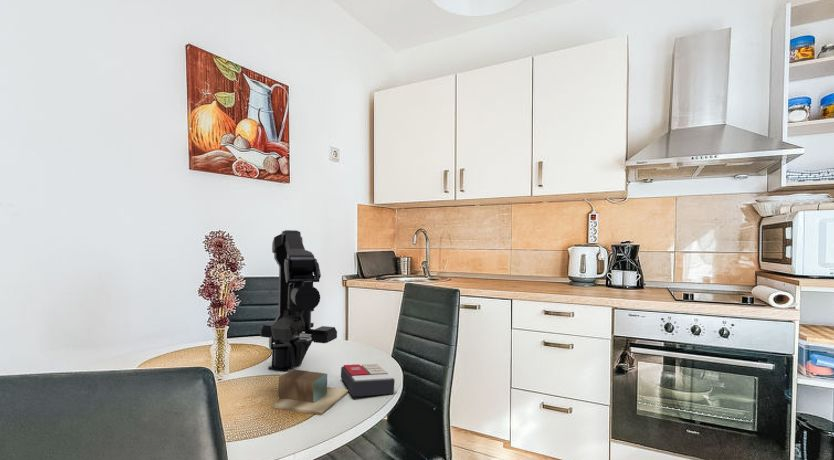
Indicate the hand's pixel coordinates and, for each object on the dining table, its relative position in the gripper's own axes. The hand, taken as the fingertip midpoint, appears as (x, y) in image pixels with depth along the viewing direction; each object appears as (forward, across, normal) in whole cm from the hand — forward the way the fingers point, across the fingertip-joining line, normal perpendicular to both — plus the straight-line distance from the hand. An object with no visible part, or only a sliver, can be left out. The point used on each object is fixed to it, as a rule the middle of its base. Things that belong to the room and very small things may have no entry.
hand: (297, 366), depth 96 cm
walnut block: (+4, -3, 0) cm, 6 cm away
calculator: (+8, +13, +12) cm, 20 cm away
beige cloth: (+8, +4, 0) cm, 9 cm away
